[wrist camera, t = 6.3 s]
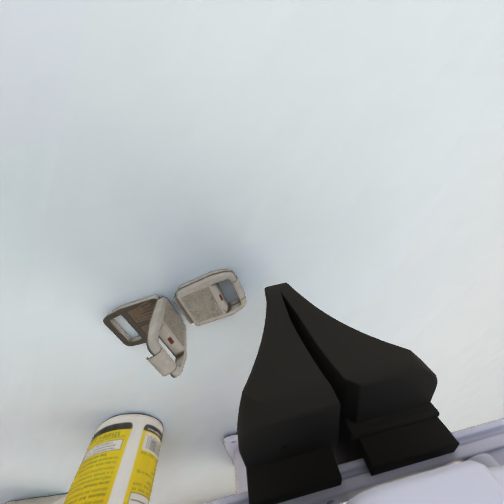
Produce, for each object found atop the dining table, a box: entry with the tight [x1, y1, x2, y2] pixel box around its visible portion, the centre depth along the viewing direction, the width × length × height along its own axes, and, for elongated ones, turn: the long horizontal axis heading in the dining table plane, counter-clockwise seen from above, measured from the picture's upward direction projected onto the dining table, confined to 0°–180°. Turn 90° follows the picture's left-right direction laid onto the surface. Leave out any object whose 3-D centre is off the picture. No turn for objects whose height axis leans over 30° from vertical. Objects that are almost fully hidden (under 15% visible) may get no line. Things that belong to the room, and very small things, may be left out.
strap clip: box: [103, 269, 246, 378], centre depth 11 cm, size 8×3×4 cm, turn 110°
